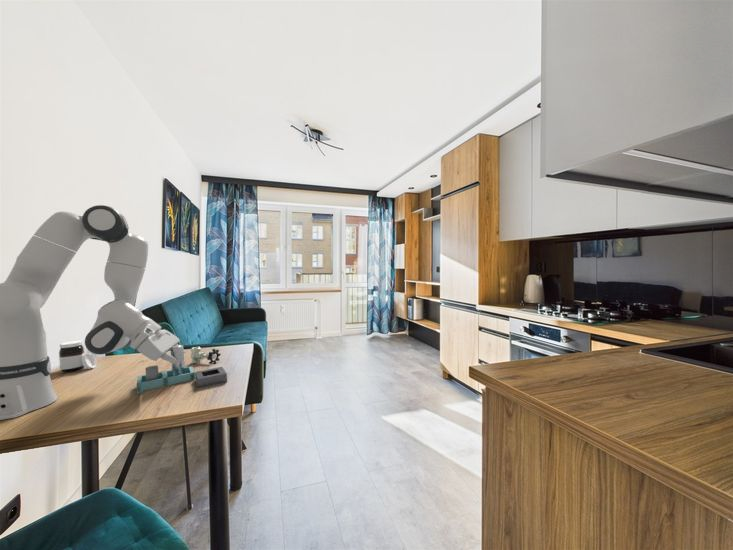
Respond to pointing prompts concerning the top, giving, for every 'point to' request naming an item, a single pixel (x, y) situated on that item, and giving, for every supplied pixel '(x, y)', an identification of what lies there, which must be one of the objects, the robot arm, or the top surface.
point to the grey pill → (178, 360)
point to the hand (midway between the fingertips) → (179, 358)
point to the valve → (204, 355)
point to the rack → (162, 378)
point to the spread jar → (74, 357)
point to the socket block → (210, 377)
